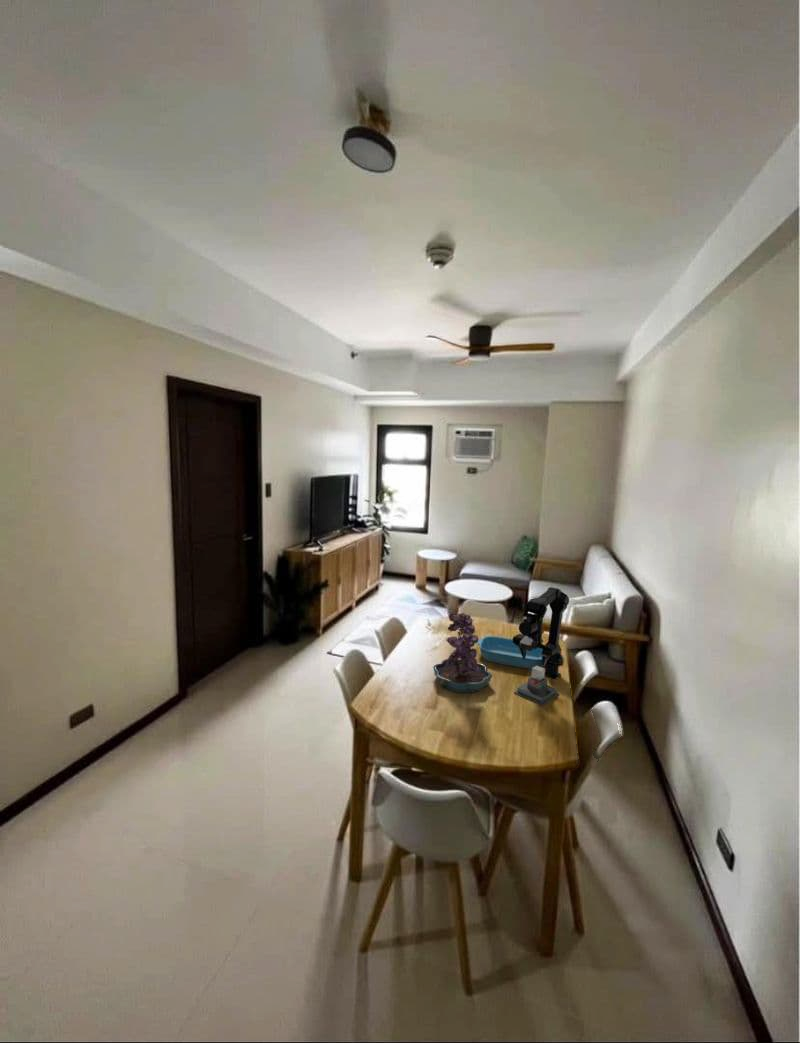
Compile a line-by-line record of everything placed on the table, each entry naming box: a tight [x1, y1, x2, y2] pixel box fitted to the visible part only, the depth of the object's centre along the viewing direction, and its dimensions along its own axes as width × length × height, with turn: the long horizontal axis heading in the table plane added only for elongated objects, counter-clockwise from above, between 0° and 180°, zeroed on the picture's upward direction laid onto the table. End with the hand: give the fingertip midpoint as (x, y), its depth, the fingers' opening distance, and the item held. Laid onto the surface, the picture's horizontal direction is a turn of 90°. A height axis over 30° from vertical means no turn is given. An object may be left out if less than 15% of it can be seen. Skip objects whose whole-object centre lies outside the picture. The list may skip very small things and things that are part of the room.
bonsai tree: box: [432, 612, 493, 693], centre depth 193 cm, size 35×27×33 cm
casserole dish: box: [476, 635, 543, 670], centre depth 223 cm, size 37×22×7 cm, turn 70°
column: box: [530, 666, 546, 682], centre depth 188 cm, size 4×4×11 cm
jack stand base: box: [513, 676, 560, 706], centre depth 189 cm, size 14×14×7 cm
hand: (533, 662), depth 189 cm, fingers open, 9 cm apart
